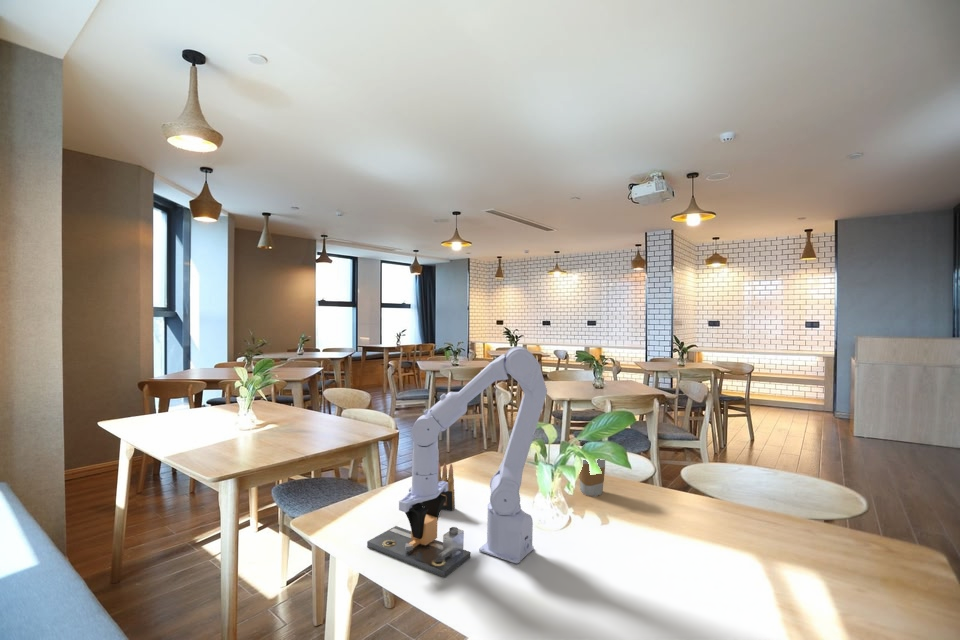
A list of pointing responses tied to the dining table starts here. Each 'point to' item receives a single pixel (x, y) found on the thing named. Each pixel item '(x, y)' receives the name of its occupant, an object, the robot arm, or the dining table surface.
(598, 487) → the coffee cup
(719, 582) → the dining table surface
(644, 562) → the dining table surface
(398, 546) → the bolt plate
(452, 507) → the ammunition clip
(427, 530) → the orange block with rod
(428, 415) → the robot arm
